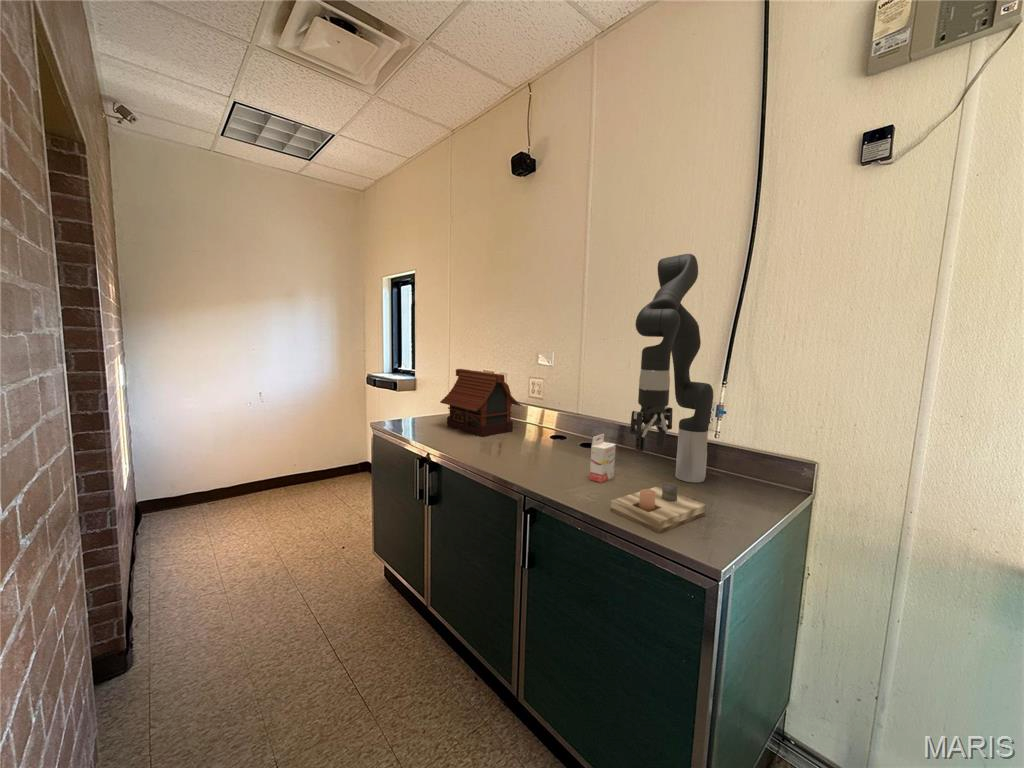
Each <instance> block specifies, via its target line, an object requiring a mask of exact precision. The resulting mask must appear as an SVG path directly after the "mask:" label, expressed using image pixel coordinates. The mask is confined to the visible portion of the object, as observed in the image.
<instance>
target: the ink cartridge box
mask: <svg viewBox="0 0 1024 768" xmlns="http://www.w3.org/2000/svg"><path fill="white" fill-rule="evenodd" d="M591 441H592V442H591V449H590V468H589V480H590V481H593V482H597V483H601V484H603V483H604V482H607V481H609V480H611V479H613V478H614V474H615V462H616V461H615V457H616V445H617V444H616V443H612V442H605V433H602V434H598V435H595V436H593V437H592V440H591Z"/></svg>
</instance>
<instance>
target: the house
mask: <svg viewBox="0 0 1024 768" xmlns="http://www.w3.org/2000/svg"><path fill="white" fill-rule="evenodd" d="M455 377H457V379H456V381H455V383H454V384H453V386H452V388H451V389H450V391H449V392H448V394H447V395H446V396H444V398H443V399H441V400H440V401H439V403H440V404H443V405H448V406H449V407H447V409H448V410H449V415H448V416H447V417H446V420H447V421H446V426H447V427H448V428H451V429H454V430H456V431H457V430H458V431H460V432H464V433H467V434H471V435H474V436H476V437H480V438H485V437H490V436H495V435H501V434H505V433H506V434H507V433H508V434H509V433H512V432H514V431H513V428H514V421H513V420H511V415H512V414H513V411H511V409H512V407H513V405H515V406H519V407H520V406H521V403H520V402H518V401H517V400H516V399H515V398H514V397H513V396H512V392H511V390H510V386H509V384H508V383H506V382H505V381H506V380H505V375H504V374H502V373H501V374H499V373H493V372H486V371H484V372H483V371H478V370H473V369H472V370H471V369H464V368H455Z"/></svg>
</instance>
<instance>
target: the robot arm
mask: <svg viewBox="0 0 1024 768" xmlns="http://www.w3.org/2000/svg"><path fill="white" fill-rule="evenodd" d="M657 276H658V281H659V287H660V288H659V289H658V290H657V291H656V293H655V295H654V296H653V299H652V301H650V302H648V304H646V305H645V306H644V307H642V308H641V310H640V311H639V313H638V314H637V317H636V320H635V330H636V331H637V333H638V334H639V335H640V336H643V337H645V338H646V337H647V338H648V337H649V338H651V337H652V338H653V337H654V338H656V337H657V338H659V337H660V338H662V340H661V342H659V343H658V344H655V345H650V346H645V347H643V349H642V351H641V360H640V373H639V377H638V379H639V380H638V382H639V383H638V394H637V395H638V399H637V404H638V405H640V411H637V410H636V411H635V410H632V411H631V416H630V417H631V419H630V429H629V432H630V433H629V434H630V435H634V436H635V450H636V451H638V452H644V451H645V449H646V437H645V436H646V435H647V433H648V431H650V430H651V428H652V427H655V428H656V430H657V432H656V446H659V447H665V446H666V442H667V439H666V438H667V433H668V431H670V430H672V429H673V407H669V403H670V402H669V401H670V385H671V384H670V383H671V374H670V371H671V367H670V366H671V358H672V364H673V378H674V381H673V382H674V396H675V400H676V403H677V405H678V406H679V407H681V408H684V409H689V410H694V414H693V415H692V416H690V417H685V418H682V419H680V420H679V422H678V433H677V449H676V462H675V463H676V465H675V474H674V475H675V478H676V479H678V480H680V481H682V482H687V483H694V484H695V483H697V484H699V483H703V482H705V479H706V474H707V461H708V460H707V459H708V438H709V437H708V435H709V426H710V424H711V423H710V422H711V418H712V409H713V403H714V402H713V401H714V389H713V387H712V385H711V384H710V383H706V382H700V381H699V382H697V381H691V376H690V375H691V374H690V368H691V365H692V363H693V361H694V359H695V358H696V356H698V353H699V350H700V349H701V344H702V342H701V341H702V340H701V333H700V327H699V322H697V320H696V318H694V316H693V315H692V314H691V312H689V311H688V310H687V309H686V308H685V307H684V306H683V305H682V300H683V299H684V297H685V296H686V294H688V292H689V291H690V290H691V288H692V287H693V286H694V284H695V283H696V282H697V279H698V277H699V264H698V260H697V258H696V256H695V255H694V254H692V253H684V254H678V255H673V256H667V257H664V258H663V257H662V258H661V259H660V260H658V263H657Z"/></svg>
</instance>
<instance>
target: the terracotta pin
mask: <svg viewBox="0 0 1024 768" xmlns="http://www.w3.org/2000/svg"><path fill="white" fill-rule="evenodd" d="M649 489H650V488H643V489H640V490H639V492H640V499H639V508H640V509H642V510H644V511H647V512H651V511H654V510H655V496H656V492H655V491H653V490H649Z"/></svg>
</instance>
